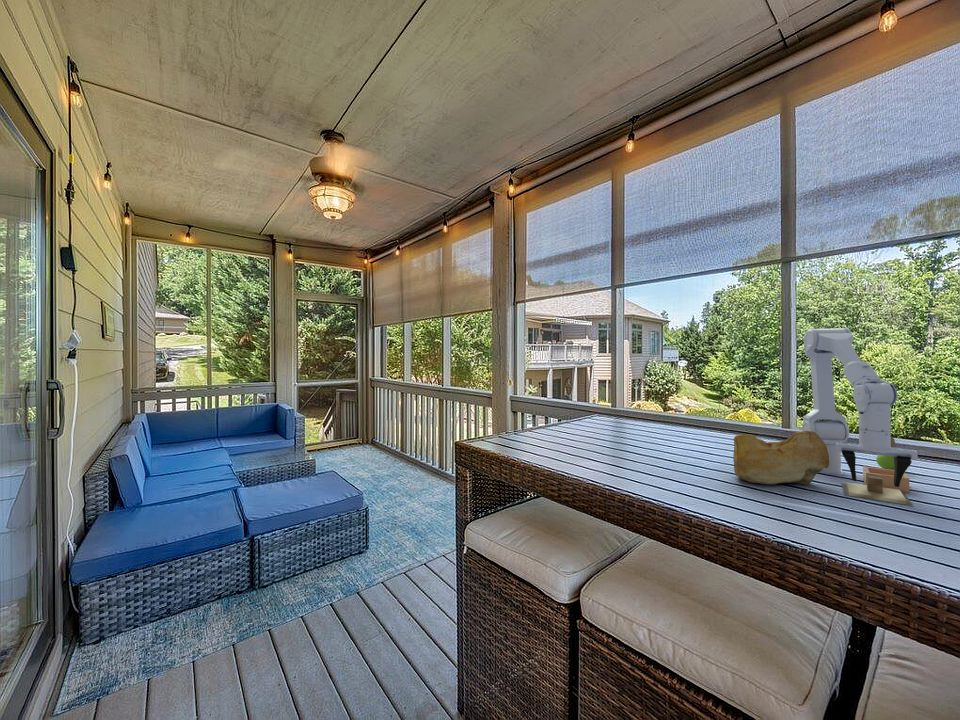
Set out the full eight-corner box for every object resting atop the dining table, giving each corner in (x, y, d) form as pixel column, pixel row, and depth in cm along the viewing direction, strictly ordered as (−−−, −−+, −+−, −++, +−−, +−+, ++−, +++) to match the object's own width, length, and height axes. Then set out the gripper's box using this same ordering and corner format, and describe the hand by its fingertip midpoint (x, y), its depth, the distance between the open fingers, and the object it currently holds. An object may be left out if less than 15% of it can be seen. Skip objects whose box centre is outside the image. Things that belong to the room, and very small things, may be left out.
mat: (844, 497, 99) (844, 495, 99) (841, 484, 109) (841, 483, 109) (914, 508, 92) (914, 506, 92) (904, 494, 101) (904, 492, 101)
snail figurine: (871, 469, 123) (871, 430, 123) (881, 466, 125) (881, 429, 125) (895, 473, 118) (895, 434, 118) (905, 470, 121) (904, 431, 120)
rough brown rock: (802, 475, 120) (798, 426, 121) (839, 489, 104) (834, 432, 105) (719, 474, 125) (715, 427, 126) (742, 487, 108) (738, 432, 110)
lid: (849, 495, 100) (849, 478, 100) (846, 485, 107) (846, 469, 107) (907, 504, 93) (907, 486, 93) (899, 492, 101) (899, 476, 101)
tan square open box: (866, 487, 106) (866, 472, 106) (862, 480, 112) (862, 466, 112) (909, 493, 101) (909, 478, 101) (903, 485, 107) (903, 471, 107)
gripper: (836, 428, 102) (837, 481, 102) (920, 435, 92) (920, 493, 92) (835, 425, 107) (835, 474, 107) (914, 431, 98) (914, 485, 98)
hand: (874, 482), depth 100 cm, fingers open, 7 cm apart
